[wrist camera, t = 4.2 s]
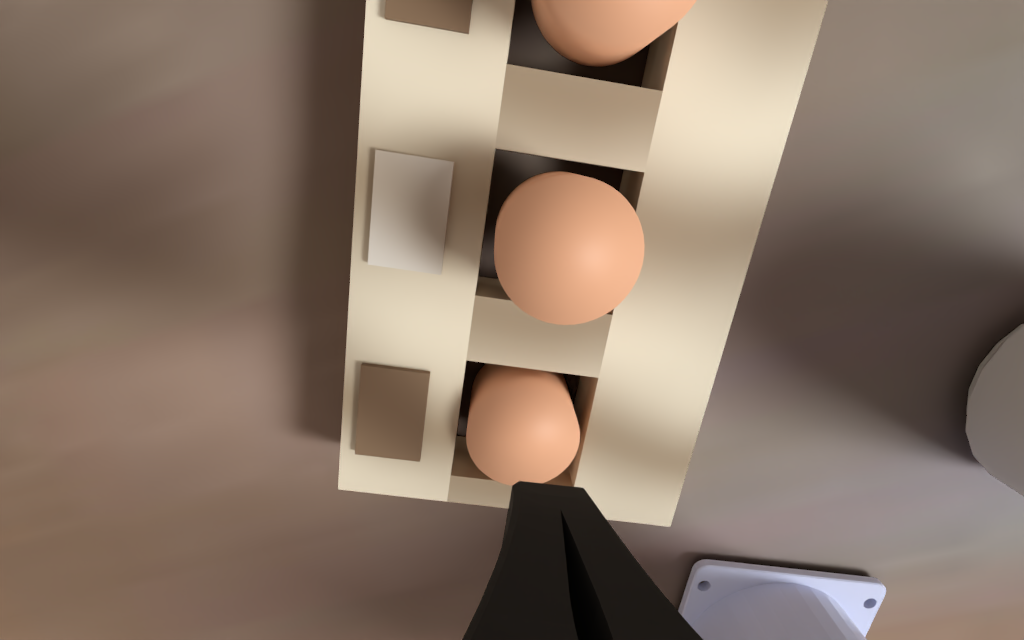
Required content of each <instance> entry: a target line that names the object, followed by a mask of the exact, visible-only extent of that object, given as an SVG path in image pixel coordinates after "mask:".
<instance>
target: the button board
mask: <svg viewBox="0 0 1024 640" xmlns="http://www.w3.org/2000/svg"><path fill="white" fill-rule="evenodd" d="M827 3H828V0H697V1H696V2H695V4H694V5H693V6H692V8H691V9H690V10H689V11H688V12H687V13H686V15H685V16H684V17H683V18H682V19H681V20H679V21H678V22H677V23H676V24H675V25H674V26H672V27H671V28H670V29H668V30H667V31H666V32H664V33H663V34H662V35H660V36H659V37H657V38H656V39H655V40H653V41H652V42H651V43H650V47H649V52H648V57H647V61H646V66H645V71H644V76H643V80H642V85H641V87H636V86H631V85H625V84H619V83H613V82H608V81H602V80H596V79H590V78H585V77H579V76H573V75H567V74H562V73H556V72H550V71H544V70H539V69H533V68H527V67H521V66H516V65H510V64H507V62H508V55H509V48H510V40H511V33H512V26H513V18H514V11H515V4H516V0H366V12H365V29H364V46H363V64H362V81H361V98H360V116H359V133H358V150H357V168H356V185H355V202H354V219H353V237H352V254H351V271H350V289H349V306H348V323H347V341H346V358H345V375H344V392H343V410H342V427H341V444H340V462H339V479H338V489H339V490H348V491H357V492H366V493H375V494H384V495H393V496H401V497H410V498H419V499H428V500H437V501H446V502H455V503H463V504H472V505H481V506H490V507H499V508H509V502H510V496H511V490H512V486H510V485H506V484H502V483H500V482H497V481H495V480H493V479H491V478H490V477H488V476H487V475H485V474H484V473H483V472H482V471H481V470H480V469H479V468H478V467H477V466H476V465H475V463H474V462H473V460H472V458H471V457H470V454H469V452H468V448H467V442H466V437H461V436H457V429H458V422H459V414H460V407H461V400H462V392H463V385H464V378H465V370H466V363H467V361H475V362H482V363H490V364H498V365H505V366H513V367H520V368H528V369H535V370H543V371H550V372H558V373H566V374H573V375H580V378H579V383H578V388H577V392H576V397H575V402H574V410H575V414H576V417H577V421H578V424H579V429H580V442H579V447H578V450H577V453H576V455H575V457H574V459H573V460H572V462H571V463H570V465H569V466H568V467H567V468H566V469H565V470H564V471H563V472H562V473H561V474H559V475H558V476H556V477H555V478H553V479H551V480H549V481H547V482H544V483H543V484H553V485H562V486H572V487H581V488H584V489H585V490H586V492H587V493H588V495H589V496H590V497H591V499H592V500H593V501H594V503H595V504H596V506H597V507H598V509H599V510H600V511H601V513H602V514H603V516H604V517H605V518H606V520H614V521H623V522H632V523H641V524H650V525H659V526H668V527H670V526H671V523H672V520H673V516H674V513H675V510H676V506H677V503H678V500H679V496H680V493H681V490H682V486H683V483H684V480H685V476H686V473H687V470H688V466H689V463H690V460H691V456H692V453H693V450H694V446H695V443H696V440H697V436H698V433H699V430H700V426H701V423H702V420H703V416H704V413H705V410H706V406H707V403H708V400H709V396H710V393H711V390H712V386H713V383H714V380H715V376H716V373H717V370H718V366H719V363H720V360H721V356H722V353H723V350H724V346H725V343H726V340H727V336H728V333H729V330H730V326H731V323H732V320H733V316H734V313H735V310H736V306H737V303H738V300H739V296H740V293H741V290H742V286H743V283H744V280H745V276H746V273H747V270H748V266H749V263H750V260H751V256H752V253H753V250H754V246H755V243H756V240H757V236H758V233H759V230H760V226H761V223H762V220H763V216H764V213H765V210H766V206H767V203H768V200H769V196H770V193H771V190H772V186H773V183H774V180H775V176H776V173H777V170H778V166H779V163H780V160H781V156H782V153H783V150H784V146H785V143H786V140H787V136H788V133H789V130H790V126H791V123H792V120H793V116H794V113H795V110H796V106H797V103H798V100H799V96H800V93H801V90H802V86H803V83H804V80H805V76H806V73H807V70H808V66H809V63H810V60H811V56H812V53H813V50H814V46H815V43H816V40H817V36H818V33H819V30H820V26H821V23H822V20H823V16H824V13H825V10H826V6H827ZM496 149H498V150H504V151H510V152H516V153H523V154H529V155H535V156H541V157H547V158H553V159H560V160H566V161H572V162H578V163H584V164H590V165H597V166H603V167H609V168H615V169H621V170H623V175H622V180H621V184H620V189H619V192H620V193H621V194H622V195H623V196H624V197H625V198H626V199H627V200H628V202H629V203H630V204H631V206H632V207H633V209H634V210H635V212H636V214H637V216H638V218H639V221H640V223H641V226H642V230H643V235H644V244H645V248H644V259H643V265H642V268H641V271H640V274H639V277H638V279H637V281H636V283H635V285H634V287H633V288H632V290H631V291H630V293H629V294H628V295H627V296H626V298H625V299H624V300H623V301H622V302H621V303H620V304H619V305H618V306H617V307H615V308H614V309H613V310H611V311H610V312H608V313H607V314H605V315H603V316H602V317H599V318H597V319H595V320H592V321H589V322H586V323H581V324H575V325H558V324H552V323H547V322H544V321H541V320H538V319H536V318H534V317H532V316H530V315H528V314H527V313H525V312H524V311H522V310H521V309H520V308H519V307H518V306H517V305H515V304H514V302H513V301H512V300H511V299H510V298H509V297H508V295H507V294H506V292H505V291H504V289H503V287H502V285H501V283H500V281H499V279H494V278H487V277H480V276H478V275H479V268H480V260H481V253H482V246H483V238H484V231H485V224H486V216H487V209H488V202H489V194H490V187H491V180H492V172H493V165H494V158H495V150H496Z"/></svg>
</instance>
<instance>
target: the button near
mask: <svg viewBox="0 0 1024 640" xmlns="http://www.w3.org/2000/svg"><path fill="white" fill-rule="evenodd" d="M696 1H697V0H531V4H532V10H533V13H534V17H535V20H536V22H537V25H538V27H539V29H540V31H541V33H542V35H543V36H544V38H545V39H546V40H547V42H548V43H549V44H550V45H551V46H552V47H553V48H554V49H555V50H556V51H557V52H558V53H559V54H561V55H562V56H563V57H565V58H567V59H568V60H570V61H573V62H575V63H577V64H581V65H585V66H593V67H601V66H609V65H613V64H616V63H619V62H622V61H624V60H626V59H628V58H630V57H631V56H633V55H634V54H636V53H637V52H639V51H640V50H641V49H643V48H644V47H645V46H647V45H648V44H649V43H651V42H652V41H653V40H655V39H656V38H657V37H659V36H660V35H662V34H663V33H664V32H666V31H667V30H668V29H670V28H671V27H672V26H674V25H675V24H676V23H677V22H678V21H679V20H681V19H682V18H683V17H684V16H685V15H686V13H687V12H688V11H689V10H690V9H691V8H692V6H693V5H694V4H695V2H696Z"/></svg>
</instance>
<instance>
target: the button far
mask: <svg viewBox="0 0 1024 640" xmlns="http://www.w3.org/2000/svg"><path fill="white" fill-rule="evenodd" d="M466 442H467V448H468V452H469V454H470V457H471V458H472V460H473V462H474V463H475V465H476V466H477V467H478V468H479V469H480V470H481V471H482V472H483V473H484V474H485V475H487V476H488V477H490V478H491V479H493V480H495V481H497V482H500V483H502V484H506V485H510V486H512V485H514V484H515V483H517V482H518V481H525V482H534V483H544V482H547V481H549V480H551V479H553V478H555V477H556V476H558V475H559V474H561V473H562V472H563V471H564V470H565V469H566V468H567V467H568V466H569V465H570V463H571V462H572V460H573V459H574V457H575V455H576V453H577V450H578V447H579V442H580V429H579V424H578V421H577V417H576V414H575V410H574V407H573V404H572V400H571V397H570V394H569V390H568V387H567V383H566V380H565V378H564V376H563V374H562V373H558V372H550V371H543V370H535V369H528V368H520V367H513V366H505V365H498V364H490V363H486V364H485V365H484V366H483V367H482V368H481V369H480V371H479V372H478V374H477V375H476V377H475V379H474V382H473V385H472V390H471V398H470V407H469V415H468V424H467V433H466Z"/></svg>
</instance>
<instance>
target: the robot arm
mask: <svg viewBox="0 0 1024 640" xmlns="http://www.w3.org/2000/svg"><path fill="white" fill-rule="evenodd" d="M702 581H705V582H703V583H700V582H702ZM885 594H886V588H885V586H884V585H883V584H882V583H881V582H880V581H879V580H878V579H877V578H874V577H866V576H857V575H848V574H838V573H829V572H820V571H811V570H802V569H792V568H783V567H774V566H765V565H756V564H746V563H737V562H728V561H719V560H710V559H703V560H700V561H698V562H696V563H695V564H694V566H693V567H692V570H691V573H690V576H689V579H688V582H687V585H686V588H685V591H684V594H683V597H682V601H681V604H680V607H679V610H678V611H677V610H676V608H675V607H674V606H673V605H672V604H671V603H670V602H669V600H668V599H667V598H666V597H665V596H664V595H663V593H662V592H661V591H660V590H659V589H658V587H657V586H656V585H655V584H654V582H653V581H652V580H651V579H650V577H649V576H648V575H647V573H646V572H645V571H644V570H643V568H642V567H641V566H640V564H639V563H638V562H637V561H636V559H635V558H634V557H633V555H632V554H631V553H630V551H629V550H628V549H627V547H626V546H625V545H624V543H623V542H622V541H621V539H620V538H619V537H618V535H617V534H616V532H615V531H614V530H613V528H612V527H611V525H610V524H609V523H608V521H607V520H606V518H605V517H604V516H603V514H602V513H601V511H600V510H599V509H598V507H597V506H596V504H595V503H594V501H593V500H592V499H591V497H590V496H589V495H588V493H587V492H586V490H585V489H584V488H581V487H572V486H562V485H553V484H543V483H534V482H525V481H518V482H517V483H515V484H514V485H512V490H511V496H510V502H509V508H508V514H507V520H506V526H505V532H504V538H503V544H502V548H501V551H500V554H499V558H498V560H497V563H496V566H495V568H494V571H493V573H492V576H491V578H490V580H489V583H488V585H487V588H486V590H485V592H484V595H483V597H482V600H481V602H480V604H479V606H478V609H477V611H476V613H475V615H474V617H473V619H472V621H471V623H470V625H469V627H468V629H467V631H466V633H465V635H464V637H463V639H462V640H867V639H866V638H865V636H866V634H867V632H868V630H869V628H870V625H871V623H872V621H873V619H874V617H875V615H876V613H877V611H878V609H879V607H880V605H881V603H882V600H883V598H884V596H885Z"/></svg>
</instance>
